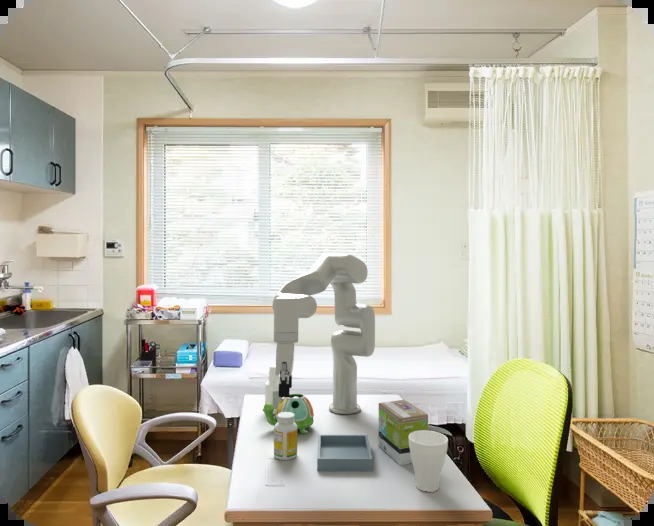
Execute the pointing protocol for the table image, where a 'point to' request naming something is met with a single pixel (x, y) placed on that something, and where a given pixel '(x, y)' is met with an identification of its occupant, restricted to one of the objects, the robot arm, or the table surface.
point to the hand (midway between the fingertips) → (285, 392)
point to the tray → (344, 453)
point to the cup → (427, 458)
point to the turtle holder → (293, 411)
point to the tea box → (399, 428)
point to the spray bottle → (272, 389)
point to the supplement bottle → (285, 436)
